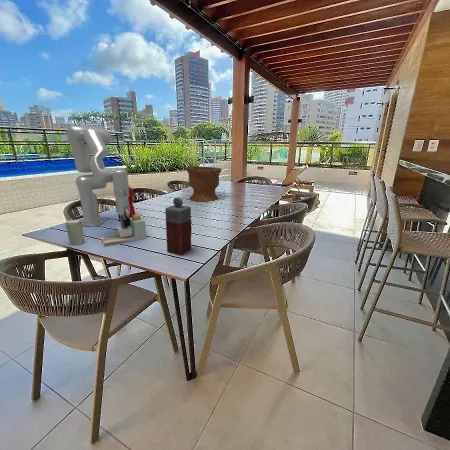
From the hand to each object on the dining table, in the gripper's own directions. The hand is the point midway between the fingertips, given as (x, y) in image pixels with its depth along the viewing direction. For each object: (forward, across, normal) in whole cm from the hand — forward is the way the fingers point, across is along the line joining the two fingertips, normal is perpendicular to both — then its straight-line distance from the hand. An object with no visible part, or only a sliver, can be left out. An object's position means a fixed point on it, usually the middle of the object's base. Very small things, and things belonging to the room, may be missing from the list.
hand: (124, 223), depth 137 cm
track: (+9, 0, -1) cm, 9 cm away
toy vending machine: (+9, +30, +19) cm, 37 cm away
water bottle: (+9, -43, +15) cm, 46 cm away
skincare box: (+9, -8, -23) cm, 26 cm away
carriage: (+7, 0, 0) cm, 7 cm away
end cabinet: (+8, 0, +7) cm, 10 cm away
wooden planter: (+9, -65, +94) cm, 114 cm away
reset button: (-1, 0, +7) cm, 7 cm away
